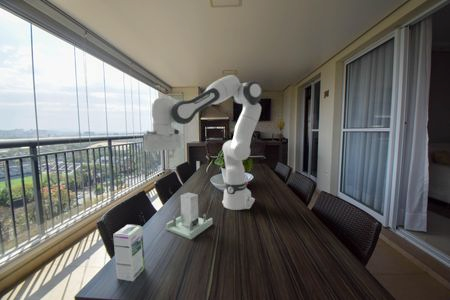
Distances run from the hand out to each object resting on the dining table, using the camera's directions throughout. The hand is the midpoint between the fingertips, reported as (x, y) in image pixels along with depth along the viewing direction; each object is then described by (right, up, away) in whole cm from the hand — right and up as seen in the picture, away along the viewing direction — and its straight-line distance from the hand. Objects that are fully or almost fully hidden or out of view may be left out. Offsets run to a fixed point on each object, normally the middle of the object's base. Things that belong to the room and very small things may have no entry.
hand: (164, 159), depth 91 cm
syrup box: (+1, -34, -34) cm, 48 cm away
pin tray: (+14, -31, -5) cm, 35 cm away
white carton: (+14, -30, -6) cm, 33 cm away
